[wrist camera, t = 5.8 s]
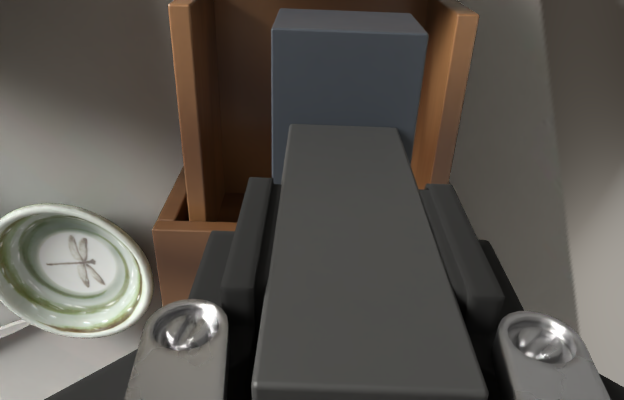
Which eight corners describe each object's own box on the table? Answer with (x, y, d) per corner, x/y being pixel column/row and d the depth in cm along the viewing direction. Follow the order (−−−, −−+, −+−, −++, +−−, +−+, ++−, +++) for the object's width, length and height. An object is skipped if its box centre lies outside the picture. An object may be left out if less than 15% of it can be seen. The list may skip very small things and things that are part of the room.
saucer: (-33, 209, 30) (-58, 232, 28) (117, 166, 29) (102, 187, 27) (54, 327, 35) (38, 354, 33) (187, 295, 33) (178, 321, 31)
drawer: (168, -206, 20) (115, -248, 14) (486, -193, 20) (552, -229, 15) (201, 194, 29) (176, 262, 23) (423, 200, 29) (449, 269, 23)
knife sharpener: (411, 12, 16) (594, 225, 5) (384, 234, 20) (456, 609, 9) (279, 8, 16) (193, 210, 5) (278, 230, 20) (230, 600, 9)
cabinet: (190, 149, 28) (151, 229, 21) (436, 156, 29) (478, 238, 22) (208, 343, 36) (182, 451, 29) (404, 348, 36) (427, 456, 29)
